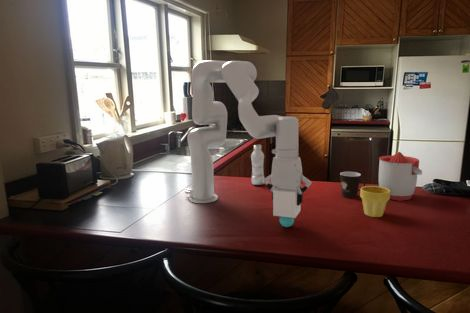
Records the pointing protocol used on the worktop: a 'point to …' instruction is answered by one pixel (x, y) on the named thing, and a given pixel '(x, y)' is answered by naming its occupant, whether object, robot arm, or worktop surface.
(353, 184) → the coffee mug
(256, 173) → the plastic bottle
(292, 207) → the pale grey cube
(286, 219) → the ball
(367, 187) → the plant pot
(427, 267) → the worktop surface
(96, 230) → the worktop surface
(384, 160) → the citrus juicer
